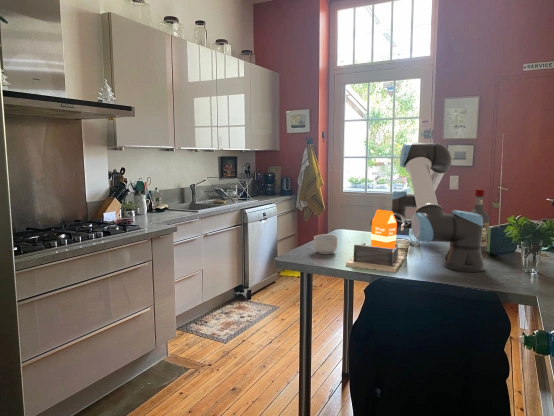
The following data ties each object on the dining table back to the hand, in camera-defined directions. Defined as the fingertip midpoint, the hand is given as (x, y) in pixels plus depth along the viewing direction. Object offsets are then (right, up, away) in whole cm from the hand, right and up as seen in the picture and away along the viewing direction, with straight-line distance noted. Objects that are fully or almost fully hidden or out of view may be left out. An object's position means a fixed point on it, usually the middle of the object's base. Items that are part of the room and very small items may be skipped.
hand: (387, 226), depth 200 cm
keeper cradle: (-12, -14, -27) cm, 33 cm away
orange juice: (-4, -12, -7) cm, 14 cm away
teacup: (-32, -12, -9) cm, 35 cm away
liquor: (+43, -12, 0) cm, 45 cm away
